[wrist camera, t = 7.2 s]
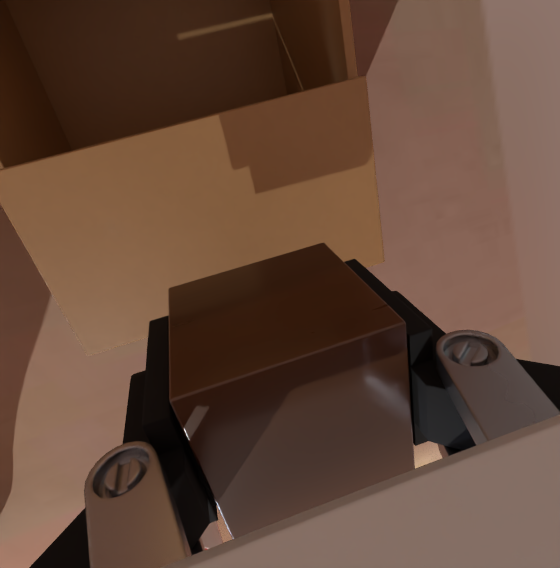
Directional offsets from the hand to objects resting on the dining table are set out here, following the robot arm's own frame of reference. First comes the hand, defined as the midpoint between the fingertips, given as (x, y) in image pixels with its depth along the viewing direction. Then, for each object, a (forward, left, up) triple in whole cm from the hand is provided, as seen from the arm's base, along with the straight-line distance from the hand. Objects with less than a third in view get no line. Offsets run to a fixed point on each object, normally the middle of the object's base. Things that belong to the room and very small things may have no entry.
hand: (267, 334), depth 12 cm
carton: (-6, 0, -15) cm, 16 cm away
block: (0, 0, 0) cm, 0 cm away
